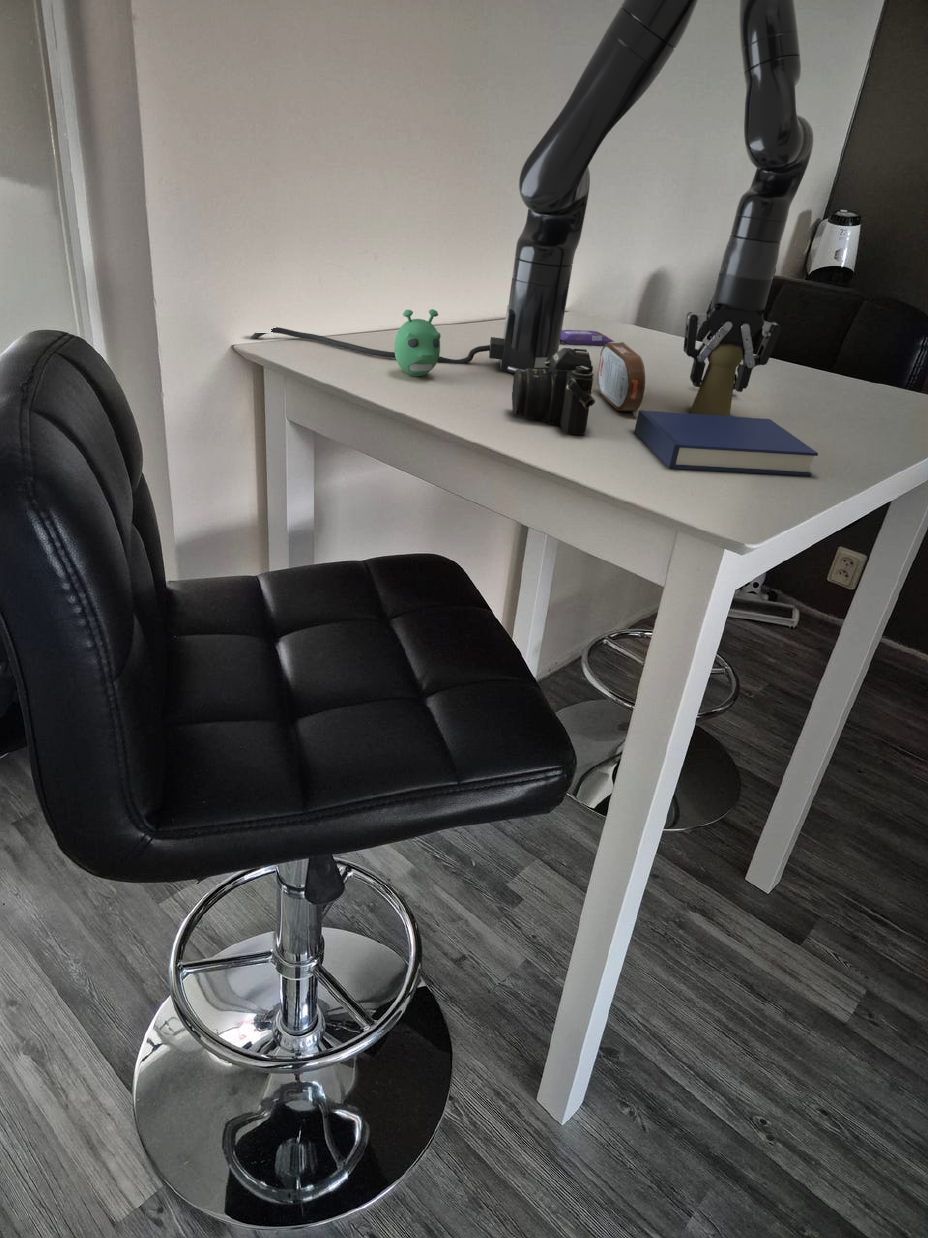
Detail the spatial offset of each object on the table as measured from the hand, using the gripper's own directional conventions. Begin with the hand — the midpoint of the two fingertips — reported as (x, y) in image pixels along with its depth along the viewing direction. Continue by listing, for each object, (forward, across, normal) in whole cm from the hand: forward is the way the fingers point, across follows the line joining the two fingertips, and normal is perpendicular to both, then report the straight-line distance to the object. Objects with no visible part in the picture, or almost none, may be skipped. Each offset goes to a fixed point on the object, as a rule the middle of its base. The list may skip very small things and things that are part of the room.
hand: (716, 387), depth 134 cm
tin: (+4, +15, 0) cm, 16 cm away
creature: (+4, -4, -14) cm, 15 cm away
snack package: (+4, +16, -41) cm, 44 cm away
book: (+4, +3, +19) cm, 20 cm away
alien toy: (+4, +46, -2) cm, 46 cm away
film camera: (+4, +26, +12) cm, 29 cm away
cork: (+4, 0, 0) cm, 4 cm away
